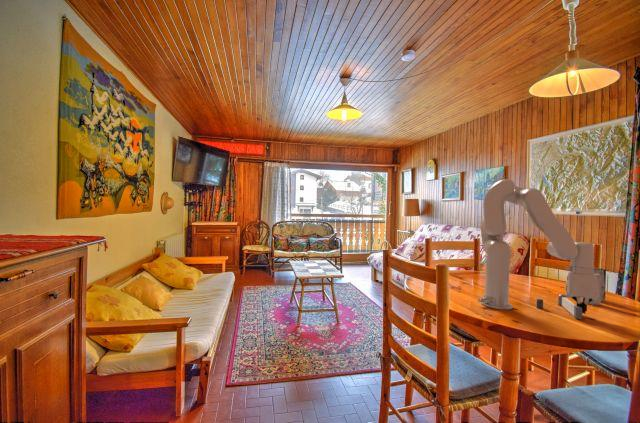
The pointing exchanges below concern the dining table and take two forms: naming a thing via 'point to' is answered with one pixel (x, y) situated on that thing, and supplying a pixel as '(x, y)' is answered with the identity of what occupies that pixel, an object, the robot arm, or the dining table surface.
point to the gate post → (560, 299)
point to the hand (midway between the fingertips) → (581, 312)
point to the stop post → (539, 303)
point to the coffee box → (603, 276)
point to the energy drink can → (599, 290)
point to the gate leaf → (572, 308)
